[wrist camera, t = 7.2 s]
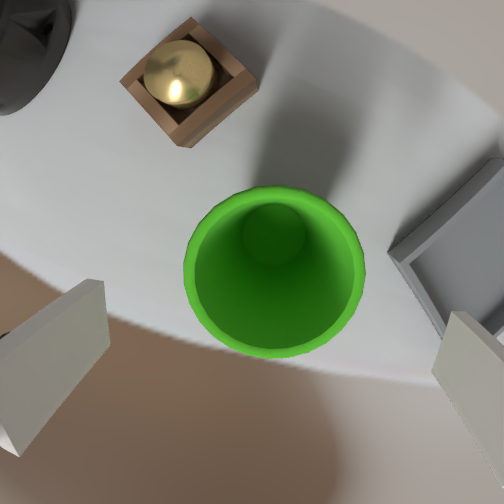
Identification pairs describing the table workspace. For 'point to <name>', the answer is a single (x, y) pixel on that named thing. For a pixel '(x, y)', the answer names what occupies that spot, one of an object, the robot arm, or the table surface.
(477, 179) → the tray
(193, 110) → the block
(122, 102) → the table surface
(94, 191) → the table surface
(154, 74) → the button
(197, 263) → the cup
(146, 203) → the table surface
